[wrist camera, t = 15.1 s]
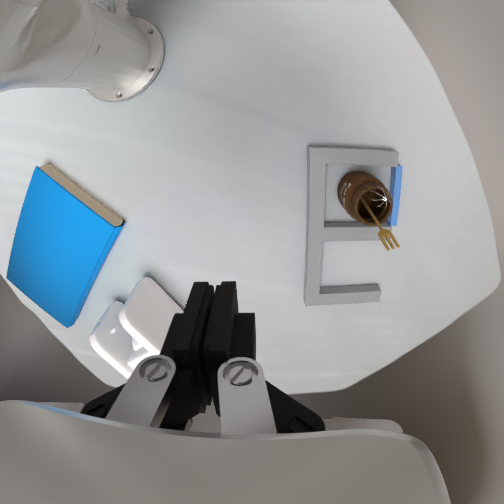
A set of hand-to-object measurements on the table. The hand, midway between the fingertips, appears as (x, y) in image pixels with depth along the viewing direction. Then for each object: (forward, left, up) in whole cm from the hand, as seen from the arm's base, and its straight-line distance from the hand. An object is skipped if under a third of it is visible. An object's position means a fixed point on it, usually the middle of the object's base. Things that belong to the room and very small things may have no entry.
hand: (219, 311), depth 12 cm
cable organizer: (+23, -16, -29) cm, 41 cm away
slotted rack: (+8, +14, -29) cm, 33 cm away
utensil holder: (+3, +15, -29) cm, 33 cm away
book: (+10, -32, -30) cm, 45 cm away
